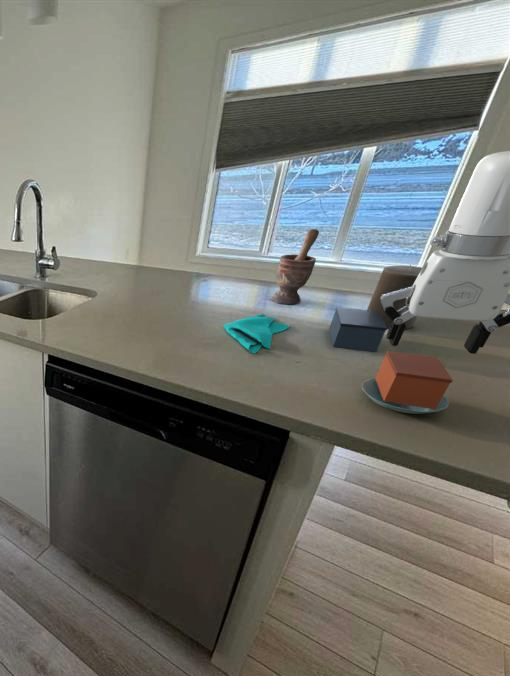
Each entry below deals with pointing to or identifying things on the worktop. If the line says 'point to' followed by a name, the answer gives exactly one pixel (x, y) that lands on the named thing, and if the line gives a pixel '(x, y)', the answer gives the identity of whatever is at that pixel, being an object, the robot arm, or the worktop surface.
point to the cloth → (255, 331)
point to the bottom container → (357, 329)
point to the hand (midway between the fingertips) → (429, 346)
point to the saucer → (375, 394)
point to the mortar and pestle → (295, 271)
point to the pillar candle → (391, 282)
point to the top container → (412, 379)
